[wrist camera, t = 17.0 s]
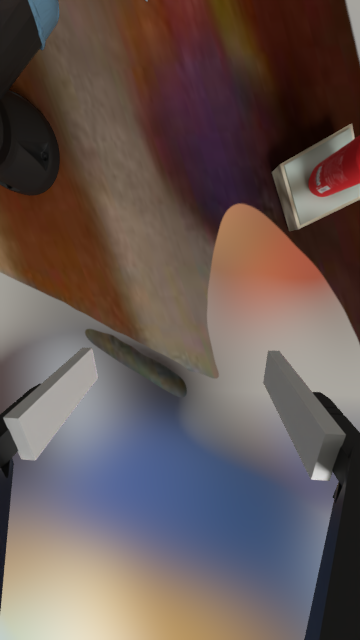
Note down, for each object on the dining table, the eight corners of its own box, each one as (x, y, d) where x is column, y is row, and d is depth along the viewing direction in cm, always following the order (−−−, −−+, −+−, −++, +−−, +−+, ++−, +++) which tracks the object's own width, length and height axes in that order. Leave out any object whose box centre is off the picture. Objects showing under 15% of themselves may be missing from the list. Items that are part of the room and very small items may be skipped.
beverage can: (313, 159, 31) (377, 110, 20) (345, 164, 31) (427, 118, 20) (300, 195, 33) (353, 169, 22) (330, 201, 33) (398, 177, 22)
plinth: (271, 172, 36) (280, 163, 32) (335, 136, 33) (353, 122, 30) (289, 231, 39) (298, 229, 35) (349, 201, 36) (366, 196, 33)
